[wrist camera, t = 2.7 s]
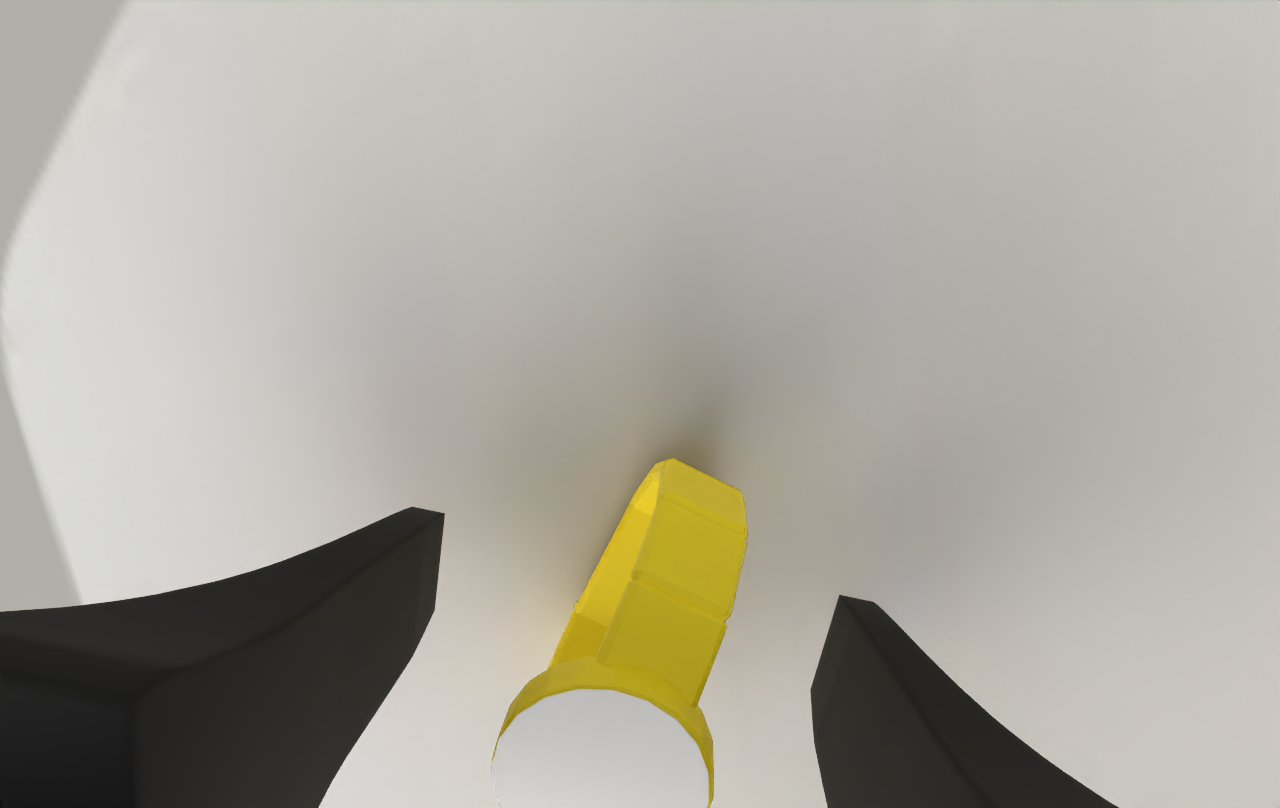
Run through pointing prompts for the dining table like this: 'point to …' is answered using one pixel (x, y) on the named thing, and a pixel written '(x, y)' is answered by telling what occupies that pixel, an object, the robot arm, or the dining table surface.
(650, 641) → the watch
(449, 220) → the dining table surface
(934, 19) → the dining table surface
